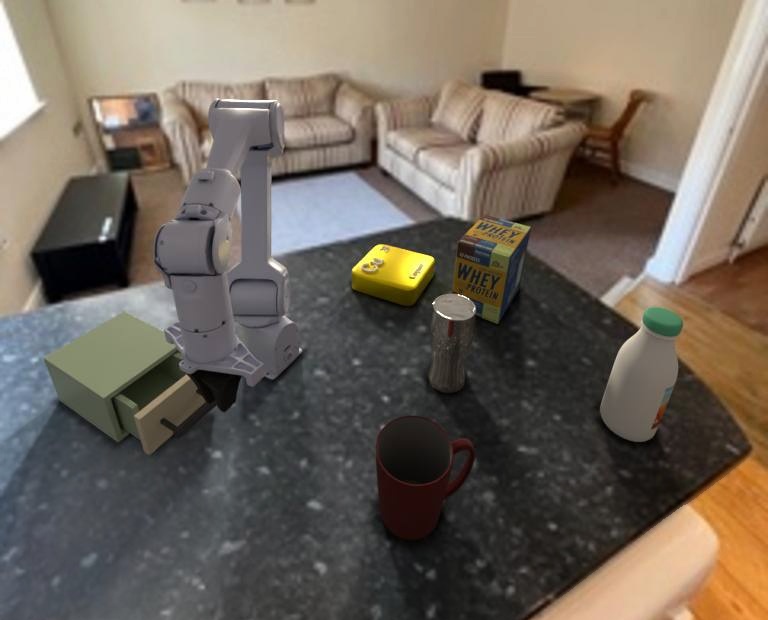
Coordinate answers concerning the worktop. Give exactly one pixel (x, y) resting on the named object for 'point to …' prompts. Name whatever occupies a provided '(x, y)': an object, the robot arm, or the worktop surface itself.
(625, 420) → the milk bottle
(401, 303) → the element tile
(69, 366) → the cabinet
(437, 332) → the beer glass
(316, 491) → the worktop surface
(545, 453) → the worktop surface
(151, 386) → the drawer
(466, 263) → the protein box
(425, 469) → the mug
